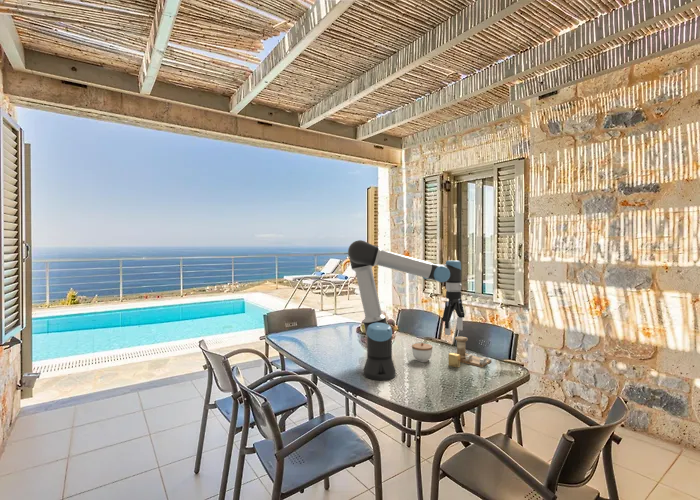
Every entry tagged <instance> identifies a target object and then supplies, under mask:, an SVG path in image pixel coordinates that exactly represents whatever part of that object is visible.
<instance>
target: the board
mask: <svg viewBox="0 0 700 500" xmlns="http://www.w3.org/2000/svg"><path fill="white" fill-rule="evenodd" d="M468 354H469V355H467V356H465V359H460V363H463V364H466V365H471V366H476V367H480V368H483V367H485V366H487V365H488V364H490V363H491V362H492V359H490V358H488V357H486V356H483V357H480V356H476V355H473V354H470V353H468Z"/></svg>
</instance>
